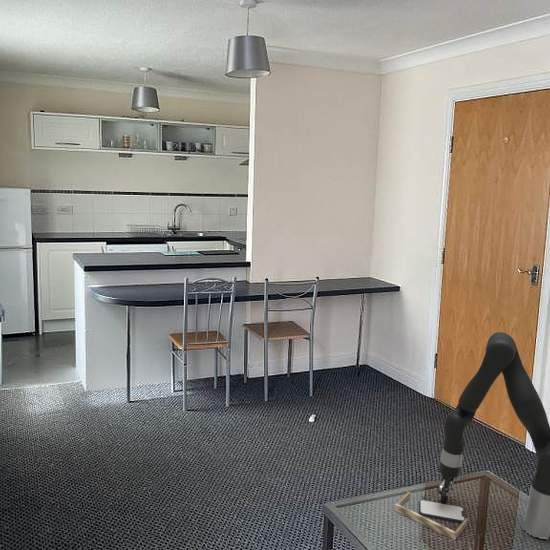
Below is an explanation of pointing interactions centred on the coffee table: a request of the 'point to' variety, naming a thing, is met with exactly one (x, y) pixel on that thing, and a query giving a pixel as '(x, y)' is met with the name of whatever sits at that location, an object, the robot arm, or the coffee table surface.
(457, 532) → the wood frame
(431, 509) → the smartphone
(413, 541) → the coffee table surface
